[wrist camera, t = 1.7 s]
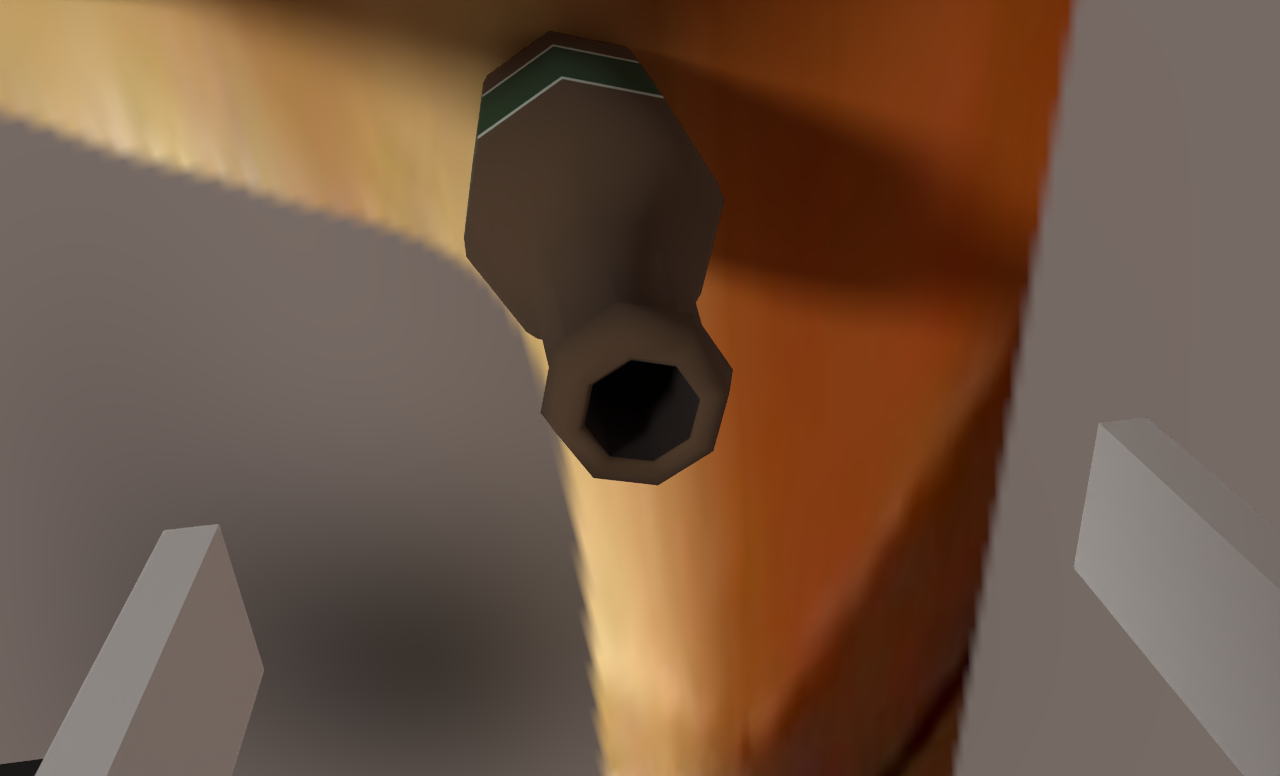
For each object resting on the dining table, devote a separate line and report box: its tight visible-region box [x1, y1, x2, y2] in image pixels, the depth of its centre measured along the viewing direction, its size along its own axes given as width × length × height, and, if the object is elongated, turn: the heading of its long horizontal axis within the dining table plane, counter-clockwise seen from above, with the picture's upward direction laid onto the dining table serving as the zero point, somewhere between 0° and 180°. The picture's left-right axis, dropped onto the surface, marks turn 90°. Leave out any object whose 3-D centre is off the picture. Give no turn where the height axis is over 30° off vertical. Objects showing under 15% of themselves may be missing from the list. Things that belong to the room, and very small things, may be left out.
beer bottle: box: [464, 31, 733, 485], centre depth 29 cm, size 8×8×24 cm
